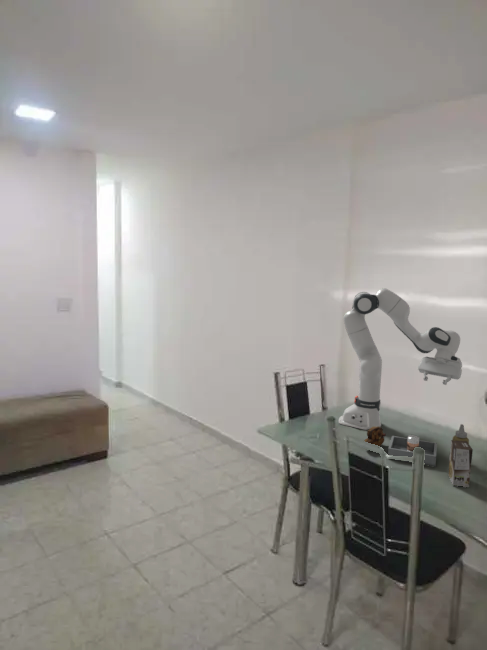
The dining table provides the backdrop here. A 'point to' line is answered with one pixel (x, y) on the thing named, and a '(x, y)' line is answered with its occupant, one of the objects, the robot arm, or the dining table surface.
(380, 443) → the wooden carving
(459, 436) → the squeeze bottle
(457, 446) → the coffee box
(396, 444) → the box
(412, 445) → the grey capped jar
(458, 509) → the dining table surface
